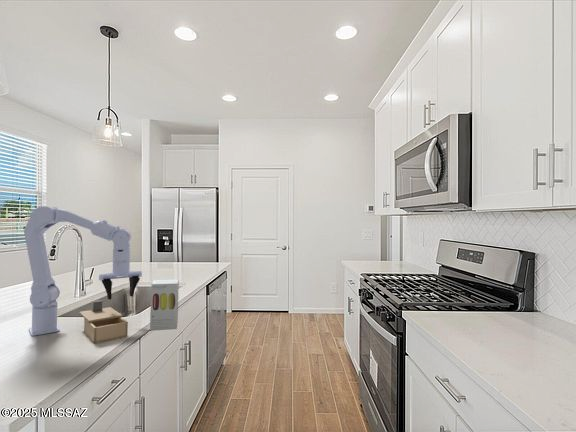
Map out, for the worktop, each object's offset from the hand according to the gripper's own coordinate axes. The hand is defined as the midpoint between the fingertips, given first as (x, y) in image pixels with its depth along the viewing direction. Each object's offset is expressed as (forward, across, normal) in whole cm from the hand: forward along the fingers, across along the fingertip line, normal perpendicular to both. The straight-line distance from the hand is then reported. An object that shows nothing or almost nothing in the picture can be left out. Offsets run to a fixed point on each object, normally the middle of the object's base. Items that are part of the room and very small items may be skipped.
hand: (120, 297), depth 126 cm
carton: (+10, -7, -8) cm, 15 cm away
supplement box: (+11, +12, -12) cm, 20 cm away
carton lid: (+5, -7, -1) cm, 9 cm away
